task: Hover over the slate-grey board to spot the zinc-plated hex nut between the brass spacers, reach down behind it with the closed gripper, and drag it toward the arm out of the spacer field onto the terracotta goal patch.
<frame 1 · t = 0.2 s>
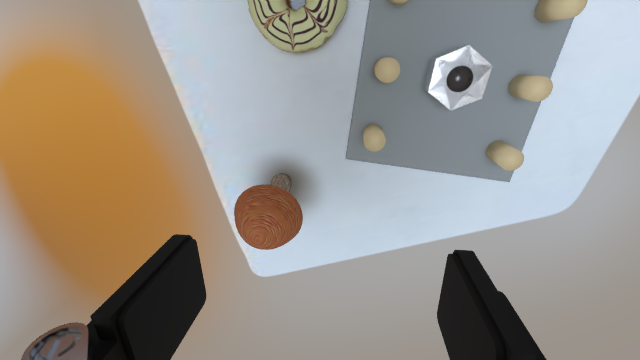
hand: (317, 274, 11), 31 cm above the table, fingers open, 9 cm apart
spacer board: (470, 6, 33), on the table
mushroom: (286, 182, 44), on the table
hex nut: (451, 77, 36), resting on spacer board
decorated donut: (300, 3, 35), on the table
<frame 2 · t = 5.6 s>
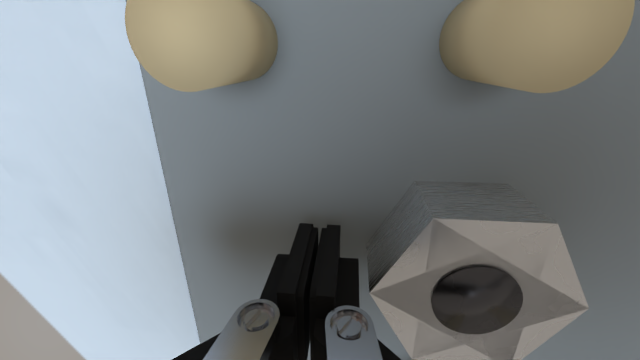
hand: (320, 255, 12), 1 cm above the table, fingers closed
spacer board: (635, 254, 12), on the table
hex nut: (448, 247, 13), resting on spacer board, touching gripper
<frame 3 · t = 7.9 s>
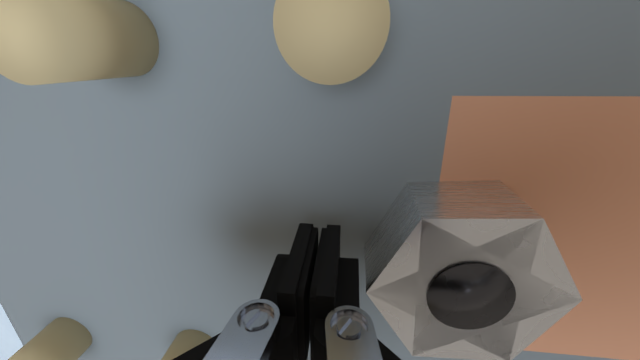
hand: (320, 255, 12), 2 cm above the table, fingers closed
spacer board: (326, 231, 14), on the table
hex nut: (445, 245, 13), resting on spacer board
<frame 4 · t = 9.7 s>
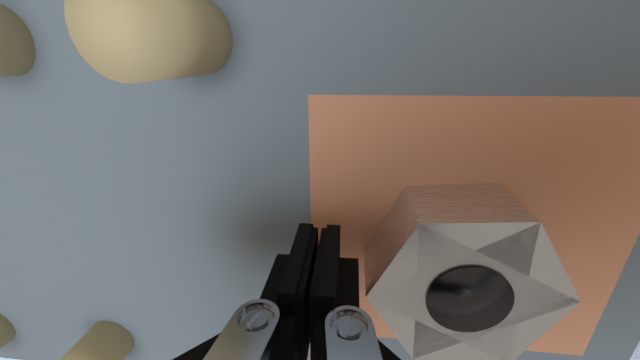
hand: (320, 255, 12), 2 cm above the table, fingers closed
spacer board: (217, 225, 14), on the table
hex nut: (444, 247, 13), resting on spacer board, touching gripper
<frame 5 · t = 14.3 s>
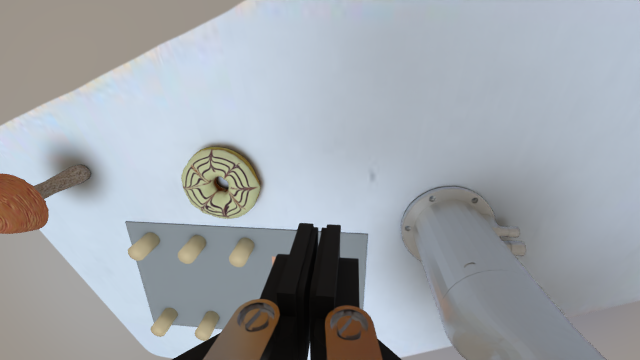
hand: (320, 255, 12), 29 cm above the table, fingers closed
spacer board: (248, 283, 51), on the table
mushroom: (84, 174, 47), on the table
decorated donut: (227, 178, 45), on the table
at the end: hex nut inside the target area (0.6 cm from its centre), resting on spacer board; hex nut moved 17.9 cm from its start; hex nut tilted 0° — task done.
